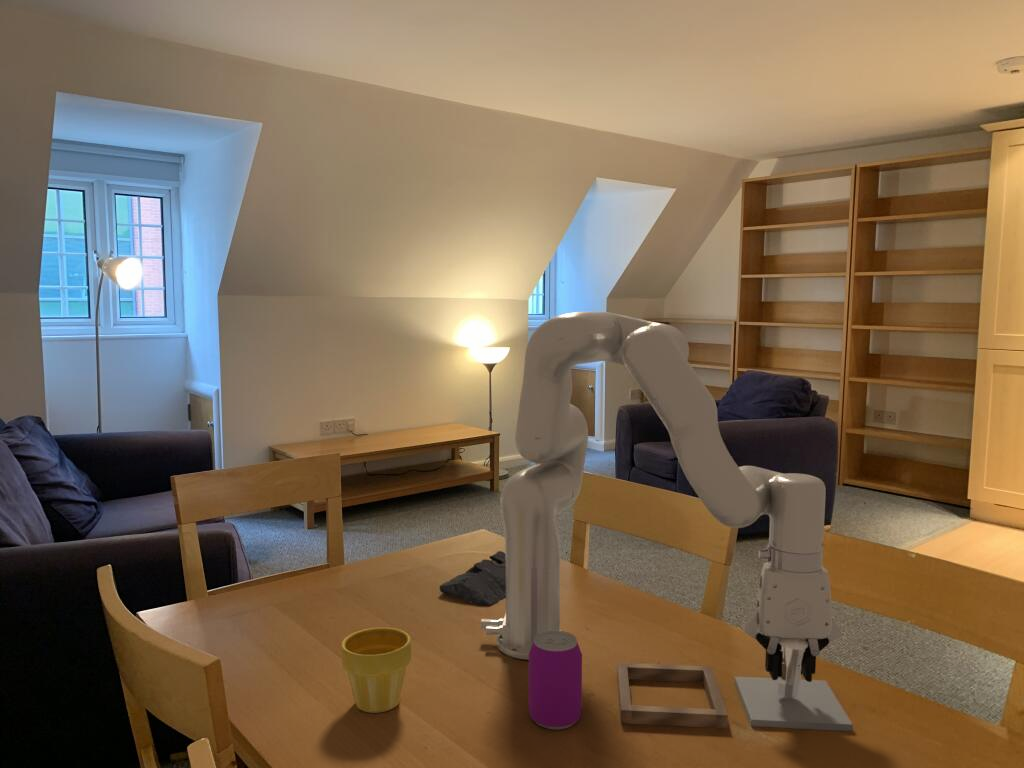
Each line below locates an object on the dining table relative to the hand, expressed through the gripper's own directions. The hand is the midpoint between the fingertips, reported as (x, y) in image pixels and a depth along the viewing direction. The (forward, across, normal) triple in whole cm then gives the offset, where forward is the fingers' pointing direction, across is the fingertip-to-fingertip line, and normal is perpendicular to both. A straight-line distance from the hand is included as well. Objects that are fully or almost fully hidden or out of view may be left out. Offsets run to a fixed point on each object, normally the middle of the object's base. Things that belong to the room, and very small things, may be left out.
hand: (789, 675), depth 119 cm
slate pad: (+5, 0, 0) cm, 5 cm away
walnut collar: (+5, -18, 0) cm, 18 cm away
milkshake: (+3, 0, 0) cm, 3 cm away
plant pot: (+5, -62, -5) cm, 62 cm away
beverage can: (+5, -35, -7) cm, 36 cm away
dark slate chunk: (+6, -52, +46) cm, 69 cm away
